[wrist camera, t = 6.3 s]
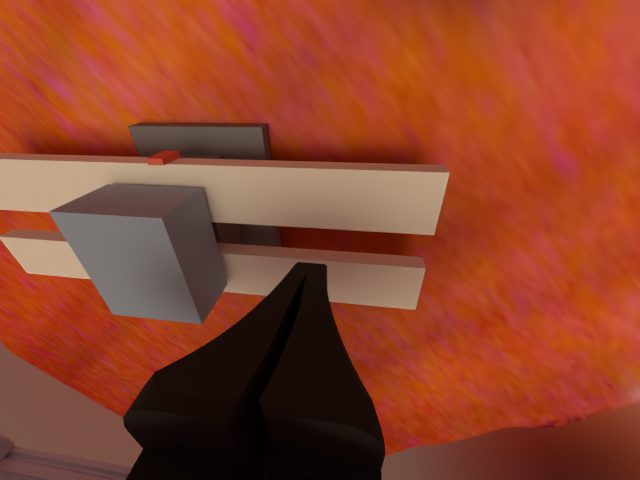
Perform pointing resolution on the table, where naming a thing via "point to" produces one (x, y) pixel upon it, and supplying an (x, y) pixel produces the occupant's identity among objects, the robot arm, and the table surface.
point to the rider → (147, 250)
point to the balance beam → (243, 206)
